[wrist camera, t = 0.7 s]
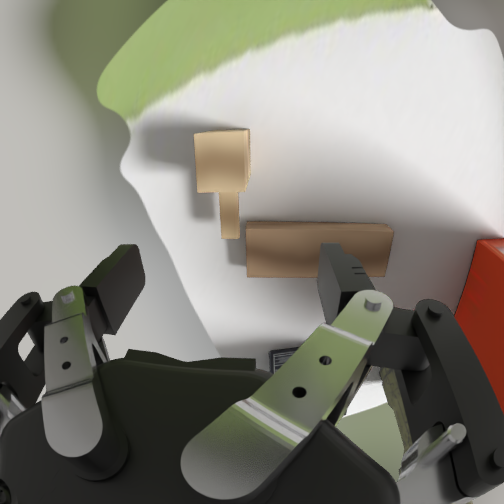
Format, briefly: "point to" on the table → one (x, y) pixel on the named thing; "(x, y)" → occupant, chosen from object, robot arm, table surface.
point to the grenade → (397, 406)
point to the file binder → (486, 311)
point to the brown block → (313, 247)
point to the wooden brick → (224, 172)
